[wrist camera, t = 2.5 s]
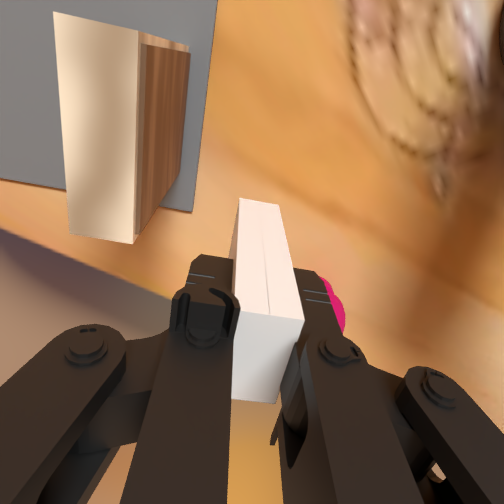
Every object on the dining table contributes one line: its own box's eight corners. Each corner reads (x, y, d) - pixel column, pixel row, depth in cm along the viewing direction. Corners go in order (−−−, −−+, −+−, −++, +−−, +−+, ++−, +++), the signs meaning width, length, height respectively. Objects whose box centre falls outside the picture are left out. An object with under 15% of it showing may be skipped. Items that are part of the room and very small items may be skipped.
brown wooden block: (192, 46, 30) (144, 32, 16) (180, 175, 36) (137, 245, 22) (144, 36, 30) (52, 11, 16) (139, 167, 36) (69, 234, 22)
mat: (219, -16, 29) (219, -17, 28) (192, 210, 39) (192, 211, 38) (-114, -99, 26) (-120, -102, 25) (-50, 167, 36) (-54, 168, 35)
